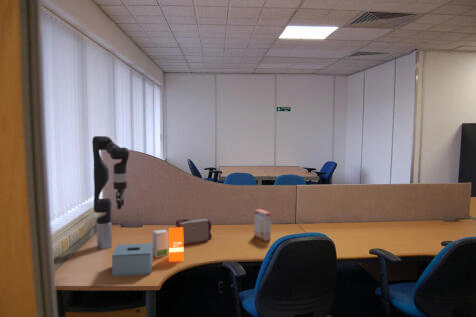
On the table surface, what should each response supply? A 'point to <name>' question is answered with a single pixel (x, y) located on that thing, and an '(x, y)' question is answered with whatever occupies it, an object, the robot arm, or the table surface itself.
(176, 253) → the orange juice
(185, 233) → the handbag
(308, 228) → the table surface
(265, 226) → the cracker box
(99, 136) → the robot arm
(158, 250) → the skincare box
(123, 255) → the box
